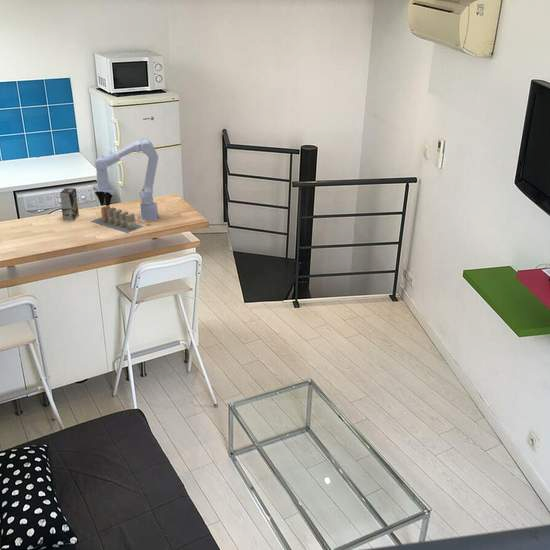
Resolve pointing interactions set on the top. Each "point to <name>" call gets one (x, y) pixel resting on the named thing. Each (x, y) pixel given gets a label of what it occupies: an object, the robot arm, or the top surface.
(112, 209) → the grey wood block
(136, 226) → the slate mat
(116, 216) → the grey wooden block
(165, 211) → the top surface
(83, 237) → the top surface
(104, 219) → the terracotta tile
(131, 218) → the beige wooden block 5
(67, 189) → the coffee box
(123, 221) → the wooden block
